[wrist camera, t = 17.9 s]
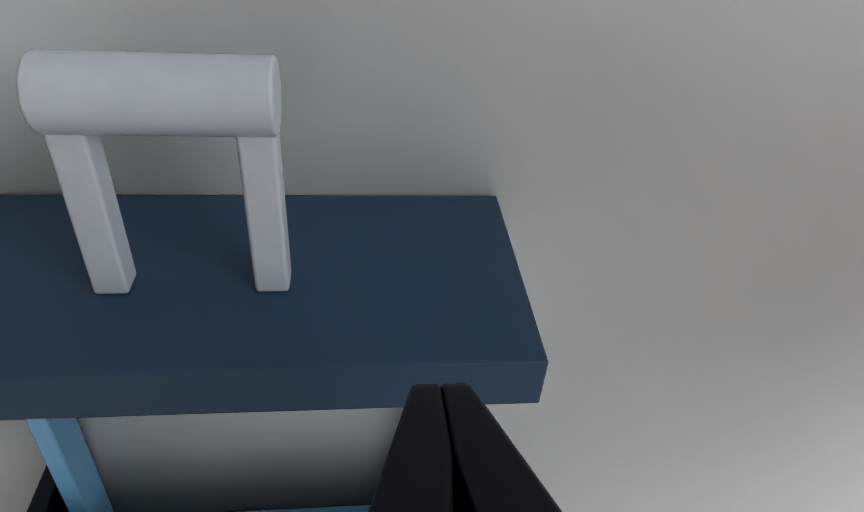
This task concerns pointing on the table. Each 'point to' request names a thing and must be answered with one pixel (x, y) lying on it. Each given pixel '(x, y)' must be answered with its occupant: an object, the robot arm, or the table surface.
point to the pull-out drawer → (231, 272)
